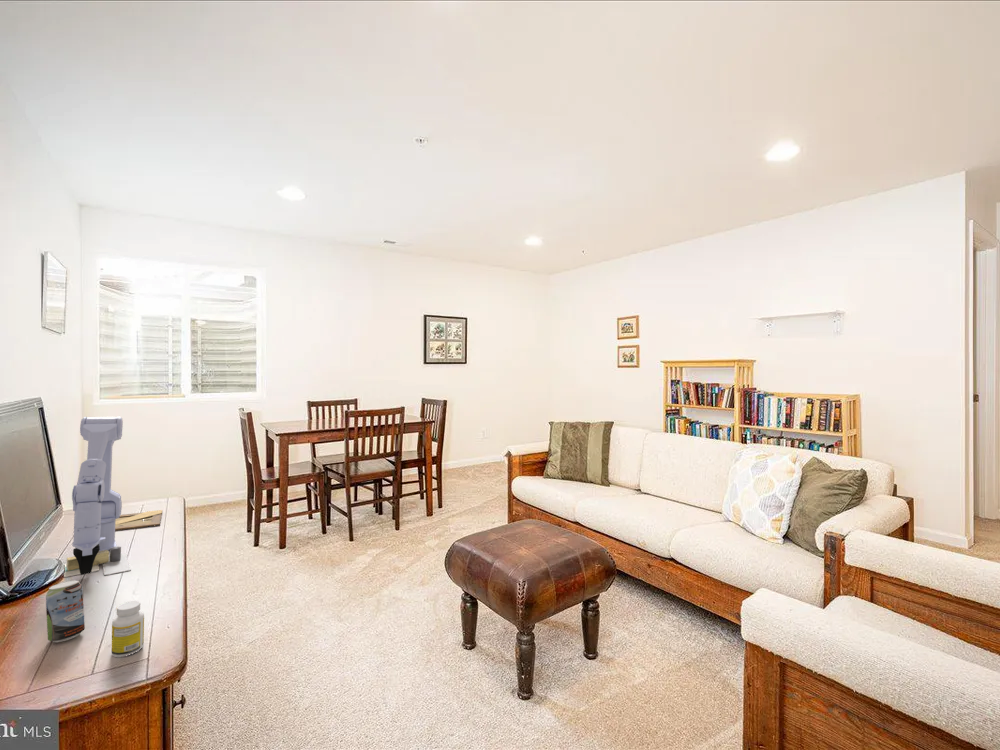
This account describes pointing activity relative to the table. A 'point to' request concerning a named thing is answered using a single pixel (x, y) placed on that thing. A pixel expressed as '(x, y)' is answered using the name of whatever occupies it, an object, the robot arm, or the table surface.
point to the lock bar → (100, 558)
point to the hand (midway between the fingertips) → (85, 573)
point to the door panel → (107, 564)
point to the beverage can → (65, 611)
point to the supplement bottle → (127, 629)
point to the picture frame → (138, 520)
